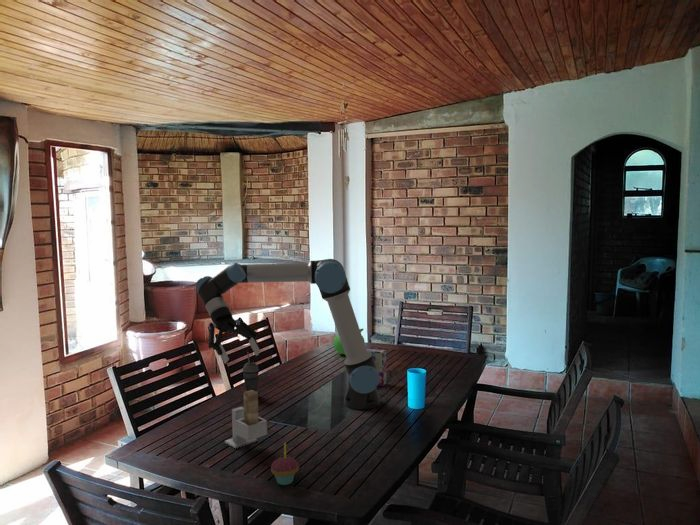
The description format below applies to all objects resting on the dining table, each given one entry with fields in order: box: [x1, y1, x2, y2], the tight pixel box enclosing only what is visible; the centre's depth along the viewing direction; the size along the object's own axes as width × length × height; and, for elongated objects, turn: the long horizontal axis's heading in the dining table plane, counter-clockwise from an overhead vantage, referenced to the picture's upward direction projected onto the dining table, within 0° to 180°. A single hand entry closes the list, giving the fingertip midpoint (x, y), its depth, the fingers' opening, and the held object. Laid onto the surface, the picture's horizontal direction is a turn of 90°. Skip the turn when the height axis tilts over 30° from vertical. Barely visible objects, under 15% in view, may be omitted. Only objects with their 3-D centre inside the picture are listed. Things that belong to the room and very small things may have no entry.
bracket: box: [224, 406, 268, 450], centre depth 185 cm, size 14×9×12 cm, turn 44°
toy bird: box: [332, 328, 366, 356], centre depth 305 cm, size 18×17×15 cm
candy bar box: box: [366, 348, 387, 387], centre depth 252 cm, size 11×5×16 cm, turn 68°
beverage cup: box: [241, 351, 260, 392], centre depth 235 cm, size 7×7×20 cm
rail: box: [243, 390, 259, 425], centre depth 182 cm, size 4×4×14 cm
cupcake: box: [270, 442, 300, 486], centre depth 160 cm, size 9×8×12 cm
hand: (243, 357), depth 193 cm, fingers open, 13 cm apart
